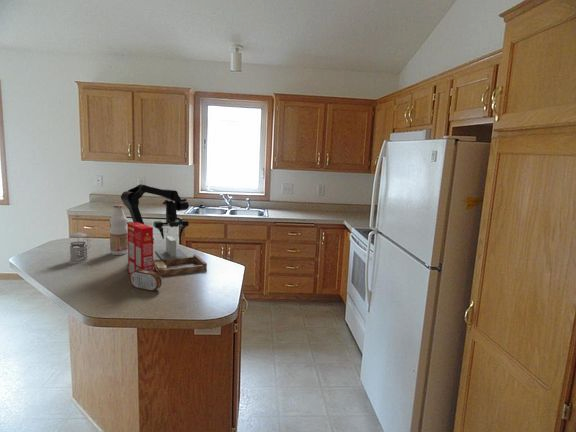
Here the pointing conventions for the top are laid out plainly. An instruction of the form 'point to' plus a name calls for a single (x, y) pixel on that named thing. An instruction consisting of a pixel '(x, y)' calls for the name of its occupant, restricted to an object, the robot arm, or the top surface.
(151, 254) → the food packaging
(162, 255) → the mat
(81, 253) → the french press
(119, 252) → the fruit juice
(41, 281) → the top surface
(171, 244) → the panel
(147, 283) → the tin
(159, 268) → the offcut stack
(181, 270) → the brown rectangular shallow frame
